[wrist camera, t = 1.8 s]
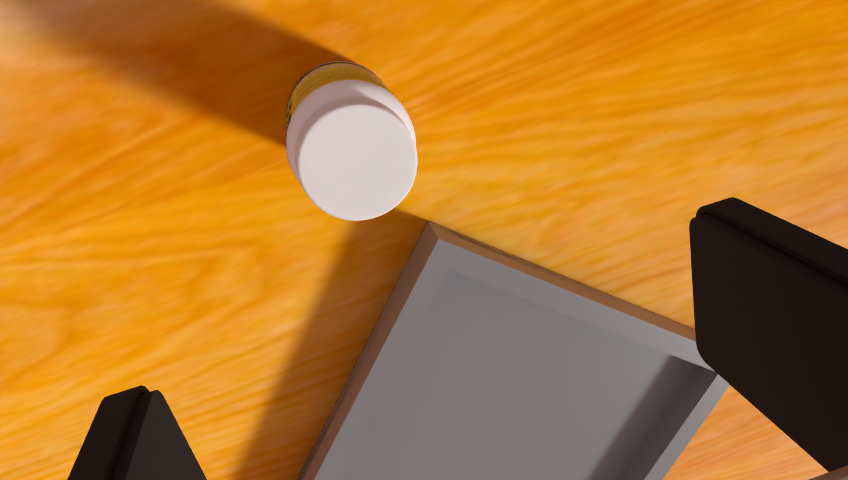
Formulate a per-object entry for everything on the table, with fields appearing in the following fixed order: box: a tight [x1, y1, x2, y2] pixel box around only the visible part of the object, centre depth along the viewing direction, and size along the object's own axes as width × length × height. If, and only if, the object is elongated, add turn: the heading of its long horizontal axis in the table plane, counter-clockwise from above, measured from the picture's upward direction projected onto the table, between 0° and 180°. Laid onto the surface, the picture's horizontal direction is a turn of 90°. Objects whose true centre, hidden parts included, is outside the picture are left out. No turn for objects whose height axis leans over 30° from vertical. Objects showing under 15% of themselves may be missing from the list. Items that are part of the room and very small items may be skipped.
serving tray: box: [297, 221, 730, 480], centre depth 35 cm, size 20×20×2 cm
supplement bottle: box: [286, 61, 417, 221], centre depth 24 cm, size 5×5×8 cm
